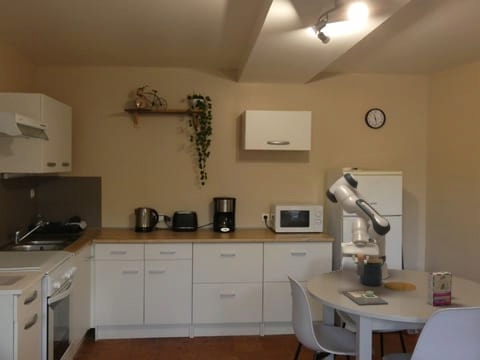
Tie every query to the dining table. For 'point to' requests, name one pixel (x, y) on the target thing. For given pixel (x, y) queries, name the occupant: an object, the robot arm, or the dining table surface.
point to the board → (363, 298)
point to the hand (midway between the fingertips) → (360, 263)
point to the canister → (372, 273)
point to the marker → (360, 264)
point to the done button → (369, 293)
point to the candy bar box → (439, 288)
